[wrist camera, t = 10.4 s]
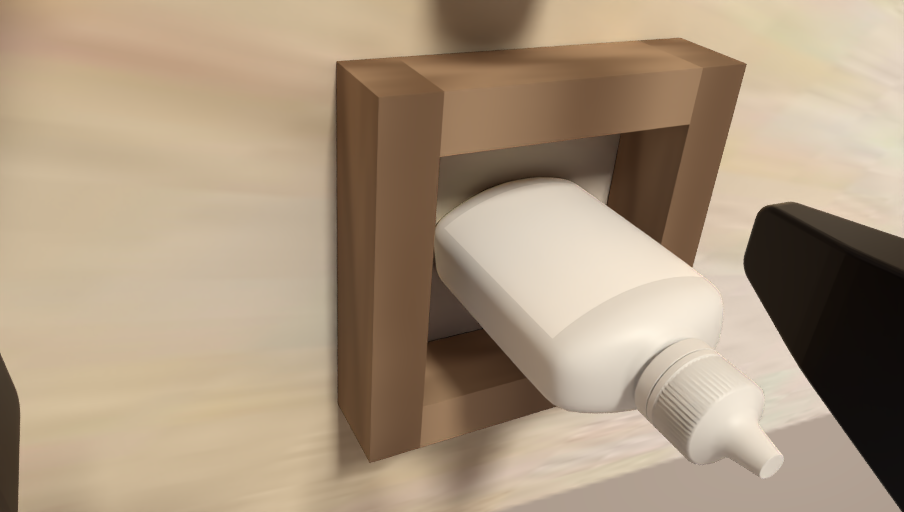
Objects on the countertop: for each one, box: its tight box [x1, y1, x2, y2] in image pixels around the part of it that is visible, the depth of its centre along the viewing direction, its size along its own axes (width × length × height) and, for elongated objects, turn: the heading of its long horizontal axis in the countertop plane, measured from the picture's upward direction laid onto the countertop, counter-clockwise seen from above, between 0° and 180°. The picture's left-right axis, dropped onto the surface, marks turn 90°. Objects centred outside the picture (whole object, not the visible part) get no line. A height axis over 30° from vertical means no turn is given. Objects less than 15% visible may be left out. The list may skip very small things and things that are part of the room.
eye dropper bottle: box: [434, 177, 784, 479], centre depth 22 cm, size 4×6×12 cm
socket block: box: [337, 38, 746, 463], centre depth 25 cm, size 12×12×3 cm
